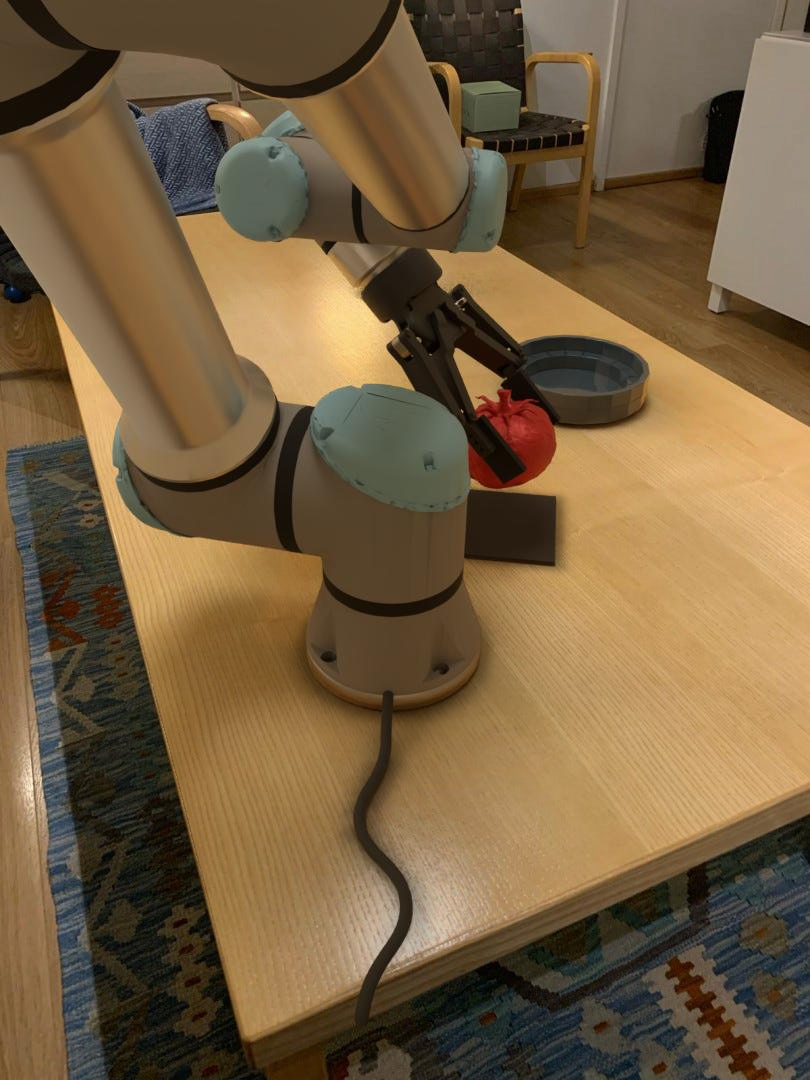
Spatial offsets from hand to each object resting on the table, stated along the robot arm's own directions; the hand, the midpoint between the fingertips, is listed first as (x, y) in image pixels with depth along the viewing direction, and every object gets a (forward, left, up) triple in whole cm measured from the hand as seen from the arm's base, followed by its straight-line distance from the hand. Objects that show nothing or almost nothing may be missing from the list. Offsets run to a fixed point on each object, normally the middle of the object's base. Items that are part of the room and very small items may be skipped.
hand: (533, 450), depth 85 cm
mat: (+1, +3, -10) cm, 10 cm away
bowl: (+33, -5, -10) cm, 35 cm away
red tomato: (+1, +3, -4) cm, 5 cm away
